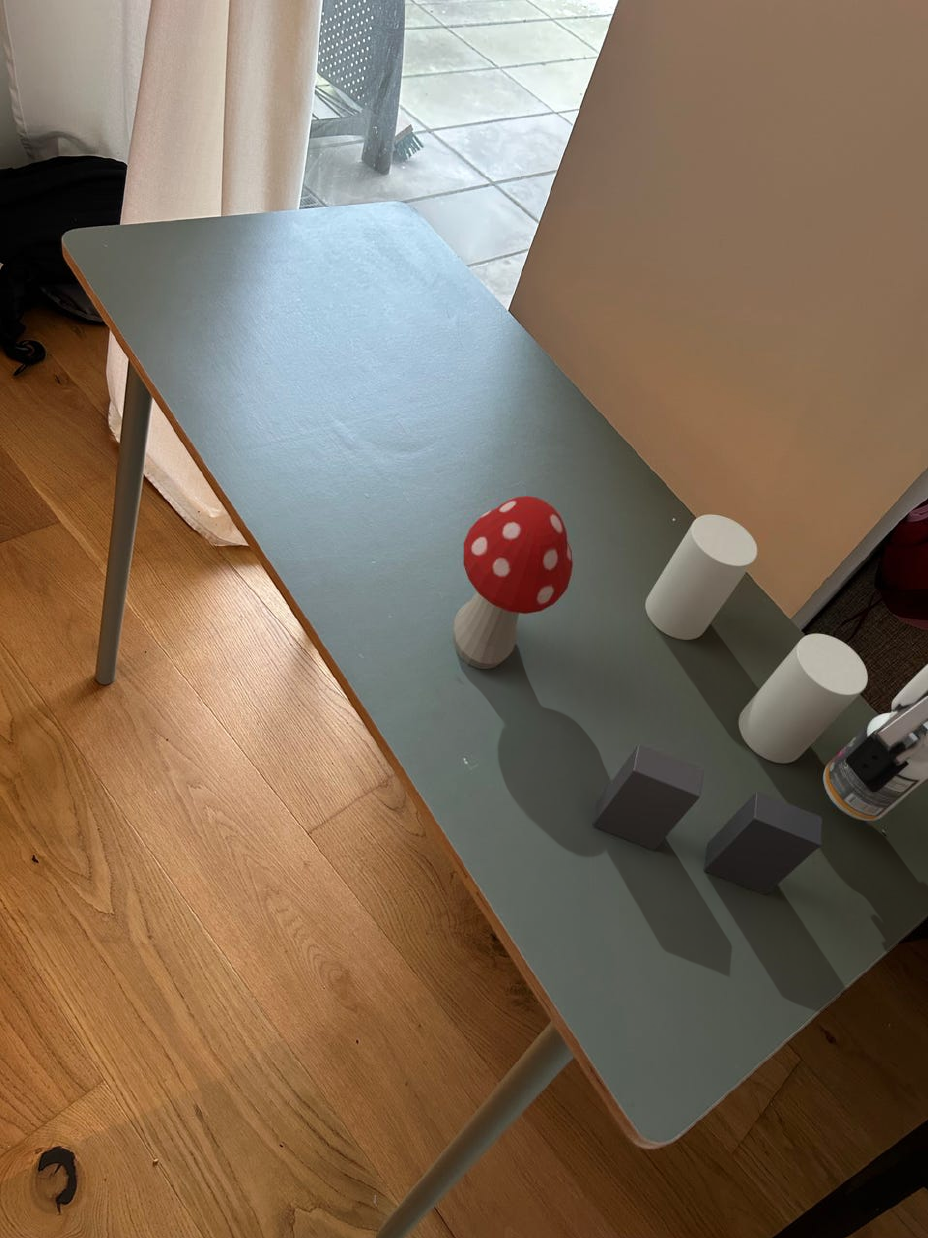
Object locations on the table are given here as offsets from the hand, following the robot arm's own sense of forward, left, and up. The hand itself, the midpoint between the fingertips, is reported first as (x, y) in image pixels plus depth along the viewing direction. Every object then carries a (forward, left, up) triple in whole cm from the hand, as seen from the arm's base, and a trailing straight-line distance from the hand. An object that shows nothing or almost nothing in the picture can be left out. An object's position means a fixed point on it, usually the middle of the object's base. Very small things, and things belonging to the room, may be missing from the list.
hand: (888, 760), depth 77 cm
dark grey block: (+8, +9, -8) cm, 14 cm away
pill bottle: (0, 0, -5) cm, 5 cm away
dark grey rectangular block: (+17, +9, -8) cm, 21 cm away
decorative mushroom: (+32, -3, -8) cm, 33 cm away
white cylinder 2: (+6, -5, -8) cm, 11 cm away
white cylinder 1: (+16, -15, -8) cm, 23 cm away
